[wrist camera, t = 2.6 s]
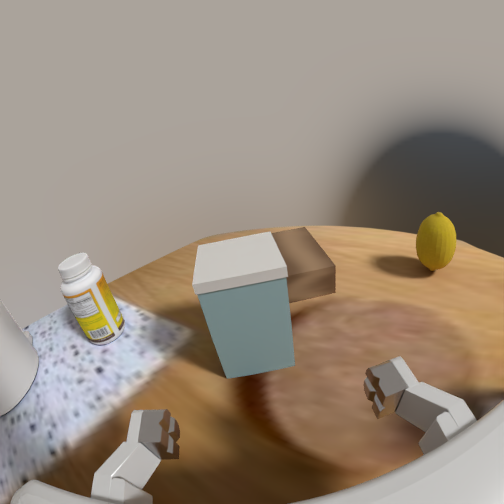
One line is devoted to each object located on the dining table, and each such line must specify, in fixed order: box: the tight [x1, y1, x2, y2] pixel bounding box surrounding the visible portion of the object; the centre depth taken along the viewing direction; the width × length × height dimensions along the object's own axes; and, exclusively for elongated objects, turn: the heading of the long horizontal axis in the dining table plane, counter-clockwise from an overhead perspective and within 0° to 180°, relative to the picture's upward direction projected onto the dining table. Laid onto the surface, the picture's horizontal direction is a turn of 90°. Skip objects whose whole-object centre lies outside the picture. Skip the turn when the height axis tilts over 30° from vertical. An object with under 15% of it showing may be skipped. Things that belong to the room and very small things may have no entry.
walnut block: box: [271, 227, 335, 303], centre depth 35 cm, size 12×12×4 cm
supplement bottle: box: [58, 253, 125, 345], centre depth 27 cm, size 6×6×10 cm
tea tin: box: [192, 232, 295, 379], centre depth 23 cm, size 6×6×10 cm
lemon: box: [416, 212, 456, 271], centre depth 28 cm, size 6×6×8 cm
